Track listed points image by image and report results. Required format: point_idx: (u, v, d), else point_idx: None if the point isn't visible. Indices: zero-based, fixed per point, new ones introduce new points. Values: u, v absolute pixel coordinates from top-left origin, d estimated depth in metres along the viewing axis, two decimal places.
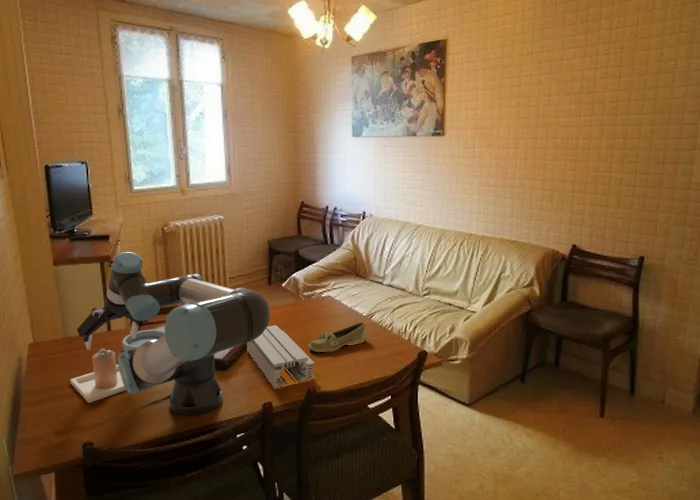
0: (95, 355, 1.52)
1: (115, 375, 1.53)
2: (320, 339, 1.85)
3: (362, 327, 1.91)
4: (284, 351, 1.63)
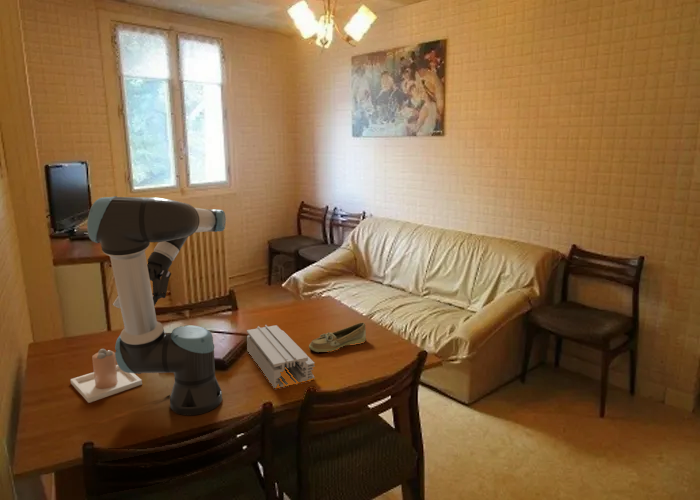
0: (95, 355, 1.52)
1: (115, 375, 1.53)
2: (320, 339, 1.85)
3: (362, 327, 1.91)
4: (284, 351, 1.63)
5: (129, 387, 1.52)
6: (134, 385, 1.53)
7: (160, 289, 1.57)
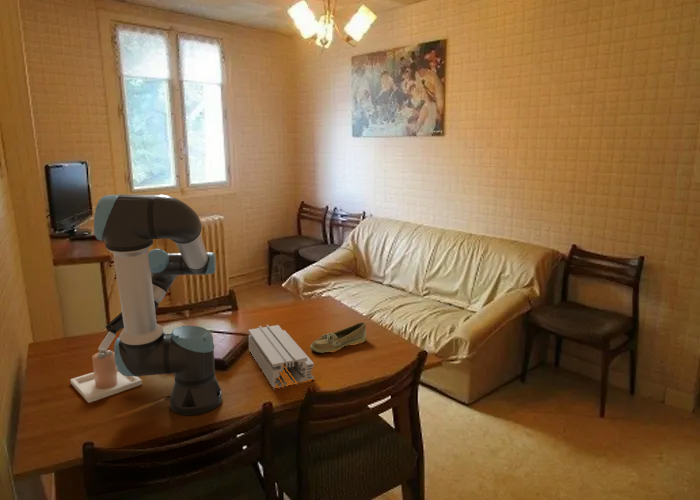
0: (95, 355, 1.52)
1: (115, 375, 1.53)
2: (322, 339, 1.84)
3: (363, 327, 1.91)
4: (284, 351, 1.63)
5: (129, 387, 1.52)
6: (134, 385, 1.53)
7: None
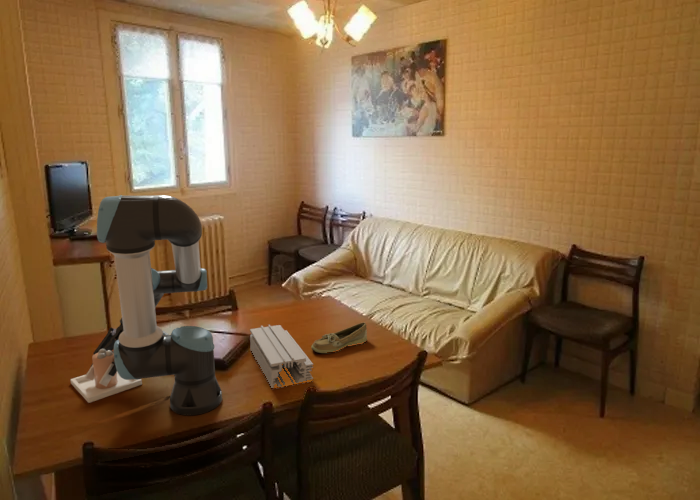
0: (95, 355, 1.52)
1: (115, 375, 1.53)
2: (323, 340, 1.84)
3: (364, 327, 1.91)
4: (284, 351, 1.63)
5: (129, 387, 1.52)
6: (134, 385, 1.53)
7: None
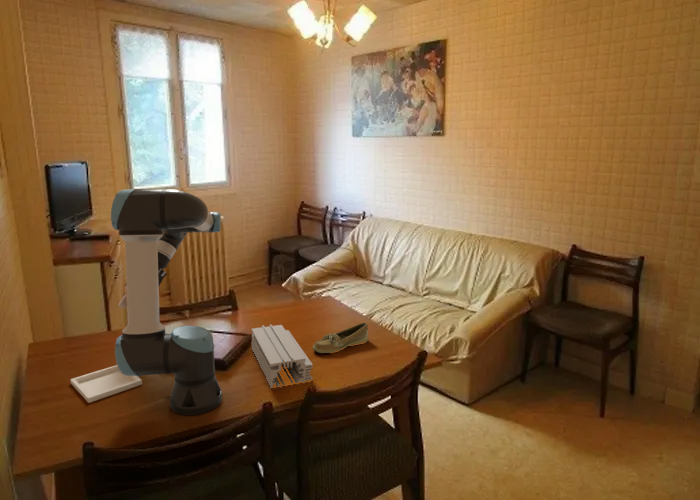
0: None
1: None
2: (324, 340, 1.84)
3: (365, 327, 1.91)
4: (284, 351, 1.63)
5: (129, 387, 1.52)
6: (134, 385, 1.53)
7: None
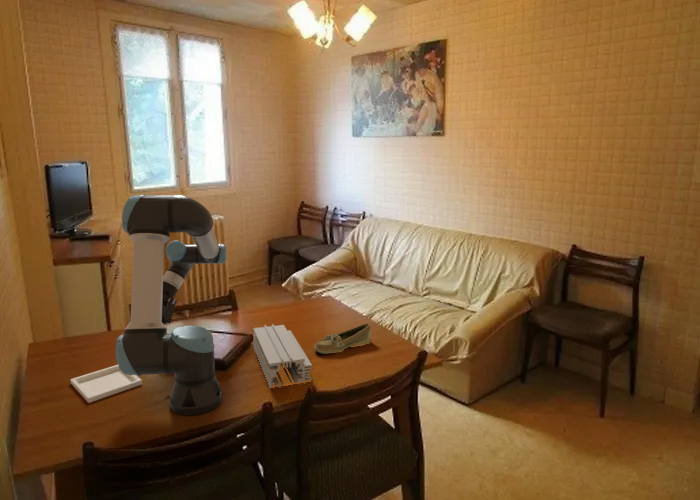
0: None
1: None
2: (325, 340, 1.84)
3: (367, 328, 1.90)
4: (284, 351, 1.63)
5: (129, 387, 1.52)
6: (134, 385, 1.53)
7: (166, 315, 1.80)
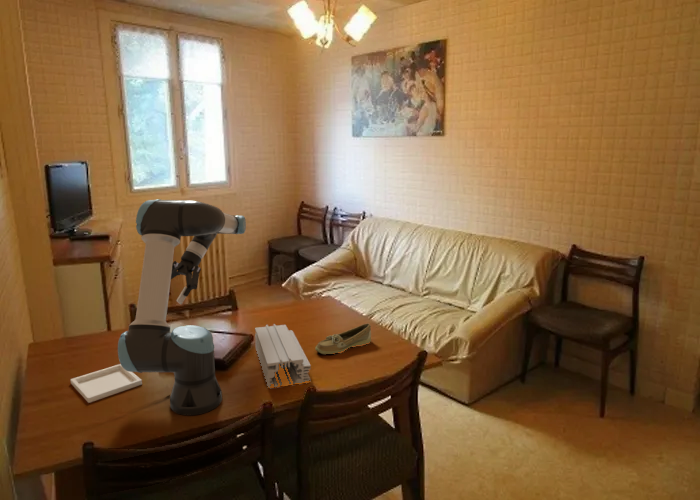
0: None
1: None
2: (327, 341, 1.83)
3: (368, 328, 1.90)
4: (283, 351, 1.63)
5: (129, 387, 1.52)
6: (134, 385, 1.53)
7: (192, 282, 1.89)
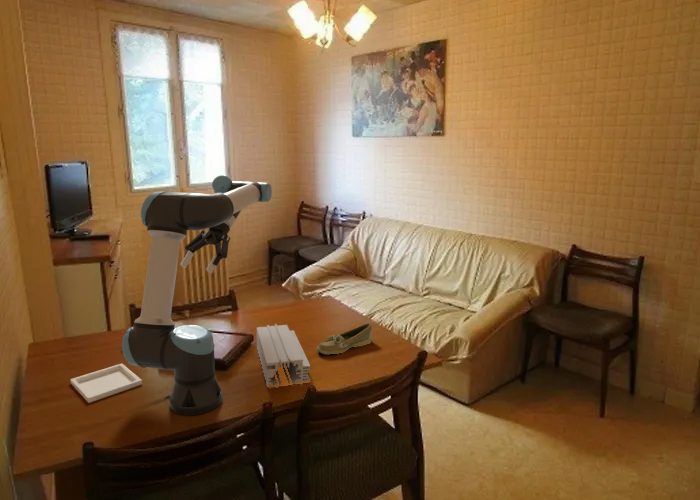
0: None
1: None
2: (328, 341, 1.83)
3: (369, 328, 1.90)
4: (283, 351, 1.63)
5: (129, 387, 1.52)
6: (134, 385, 1.53)
7: (222, 250, 1.82)
